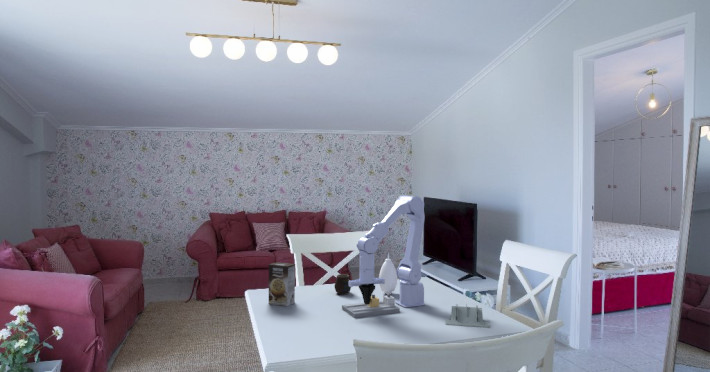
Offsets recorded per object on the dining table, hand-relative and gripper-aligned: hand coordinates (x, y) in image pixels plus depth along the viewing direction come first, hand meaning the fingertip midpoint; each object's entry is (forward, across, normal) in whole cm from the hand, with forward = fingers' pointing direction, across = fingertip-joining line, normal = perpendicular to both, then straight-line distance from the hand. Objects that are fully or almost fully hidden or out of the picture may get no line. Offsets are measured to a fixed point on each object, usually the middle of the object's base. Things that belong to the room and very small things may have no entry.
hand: (366, 303), depth 185 cm
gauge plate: (+3, -2, 0) cm, 3 cm away
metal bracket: (+4, -29, +25) cm, 38 cm away
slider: (+1, -3, 0) cm, 3 cm away
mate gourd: (+3, -2, -28) cm, 28 cm away
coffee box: (+3, +27, -23) cm, 36 cm away
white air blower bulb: (+3, -20, -20) cm, 28 cm away
